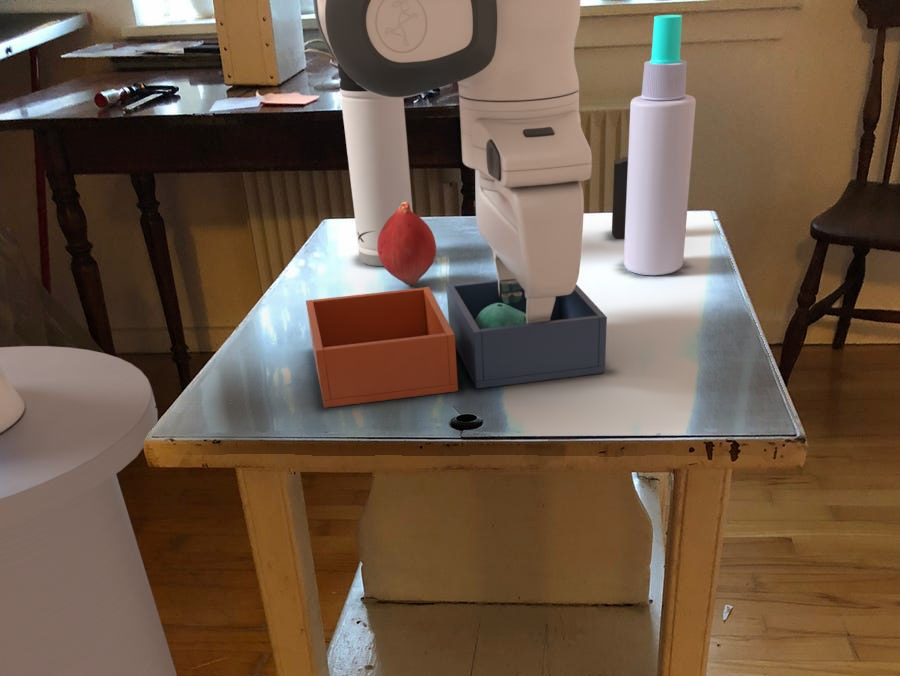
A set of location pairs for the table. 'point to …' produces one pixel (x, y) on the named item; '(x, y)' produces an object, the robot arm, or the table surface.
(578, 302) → the blue bin
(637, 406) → the table surface
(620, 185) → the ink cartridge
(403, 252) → the onion
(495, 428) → the table surface
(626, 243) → the spray bottle
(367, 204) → the travel mug
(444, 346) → the terracotta bin
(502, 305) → the whale figurine
